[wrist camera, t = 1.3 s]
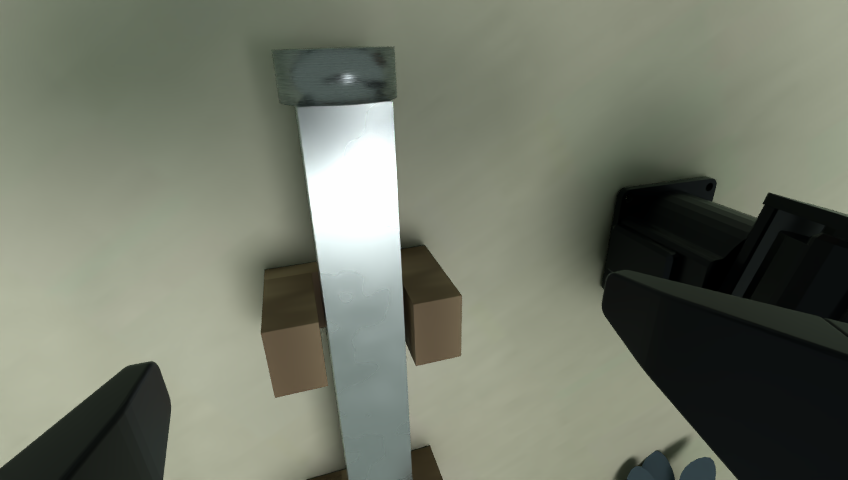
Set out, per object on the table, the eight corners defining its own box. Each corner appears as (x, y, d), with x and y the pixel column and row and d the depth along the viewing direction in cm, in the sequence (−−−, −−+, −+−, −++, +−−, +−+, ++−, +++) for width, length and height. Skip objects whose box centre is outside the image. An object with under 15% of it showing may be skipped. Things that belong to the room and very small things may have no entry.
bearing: (424, 245, 22) (461, 295, 17) (426, 296, 23) (460, 356, 19) (264, 269, 20) (260, 333, 15) (275, 324, 21) (275, 397, 17)
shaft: (380, 46, 17) (408, 46, 13) (411, 568, 31) (428, 635, 27) (272, 49, 16) (270, 50, 12) (355, 587, 30) (365, 660, 26)
